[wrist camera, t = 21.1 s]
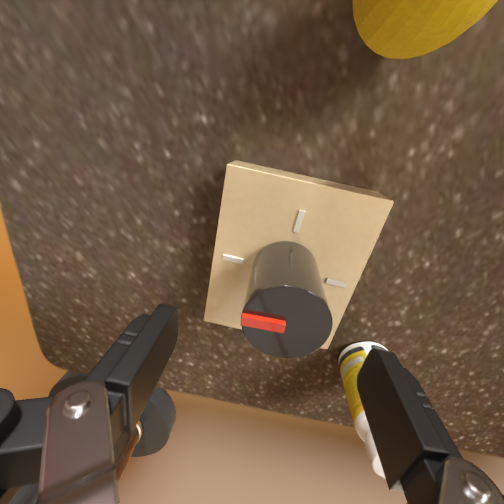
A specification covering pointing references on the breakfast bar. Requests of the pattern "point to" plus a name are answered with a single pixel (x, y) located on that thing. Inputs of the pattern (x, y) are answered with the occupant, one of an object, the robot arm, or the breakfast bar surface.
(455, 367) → the breakfast bar surface
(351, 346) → the supplement bottle
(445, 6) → the lemon
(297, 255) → the hob knob
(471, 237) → the breakfast bar surface
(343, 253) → the knob base panel
